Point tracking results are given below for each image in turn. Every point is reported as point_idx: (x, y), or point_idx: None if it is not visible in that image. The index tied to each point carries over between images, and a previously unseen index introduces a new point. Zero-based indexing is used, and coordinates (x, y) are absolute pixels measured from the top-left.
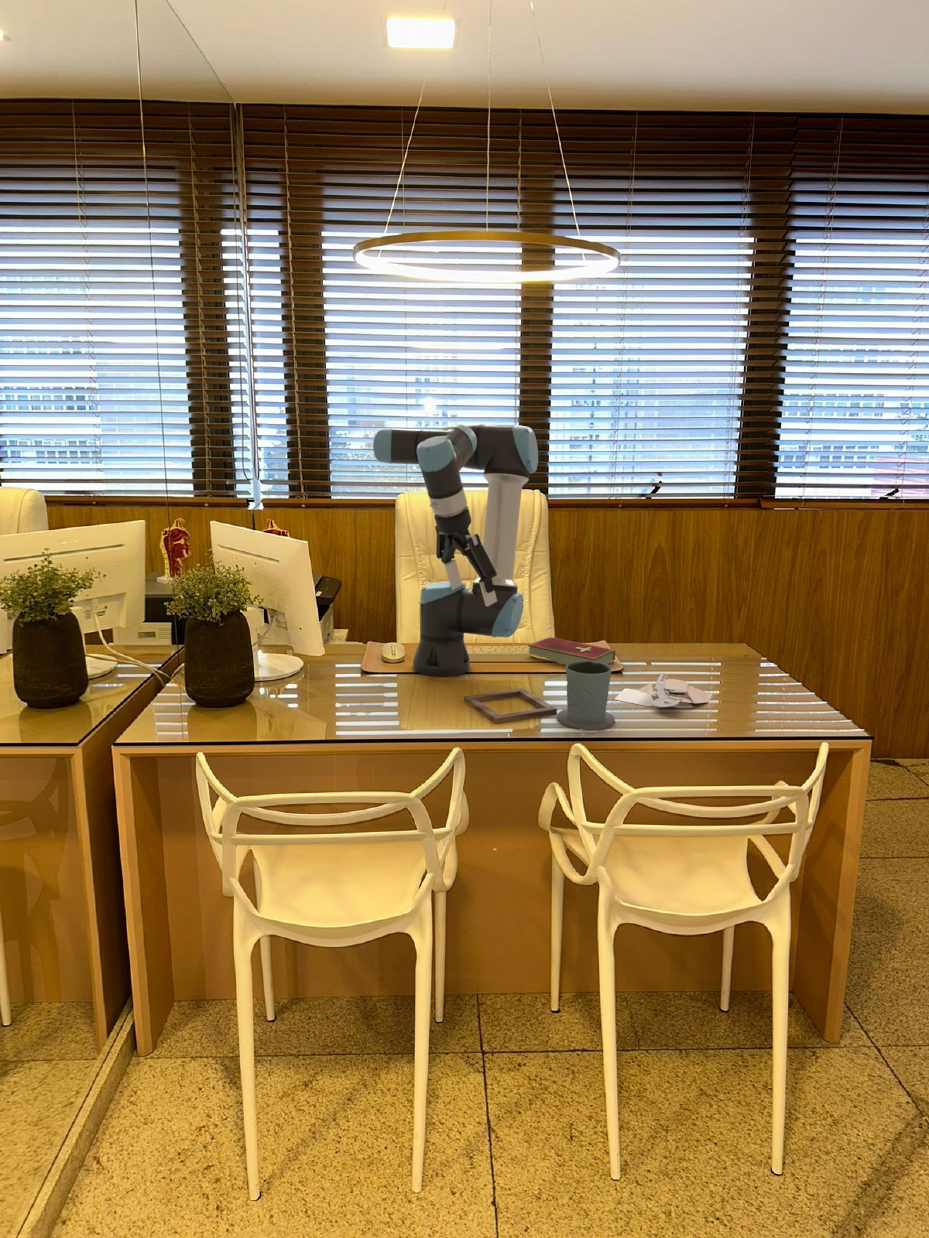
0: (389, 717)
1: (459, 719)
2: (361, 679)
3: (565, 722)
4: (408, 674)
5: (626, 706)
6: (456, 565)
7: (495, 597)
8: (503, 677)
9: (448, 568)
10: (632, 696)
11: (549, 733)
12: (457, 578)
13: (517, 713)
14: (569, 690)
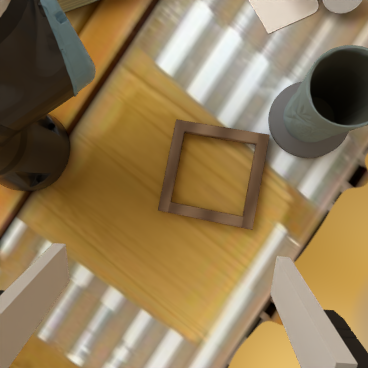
0: (153, 331)
1: (211, 258)
2: (8, 272)
3: (309, 154)
4: (27, 205)
5: (298, 38)
6: (4, 313)
7: (295, 269)
8: (111, 102)
9: (8, 359)
10: (273, 4)
11: (319, 193)
12: (48, 278)
13: (253, 192)
14: (319, 132)
